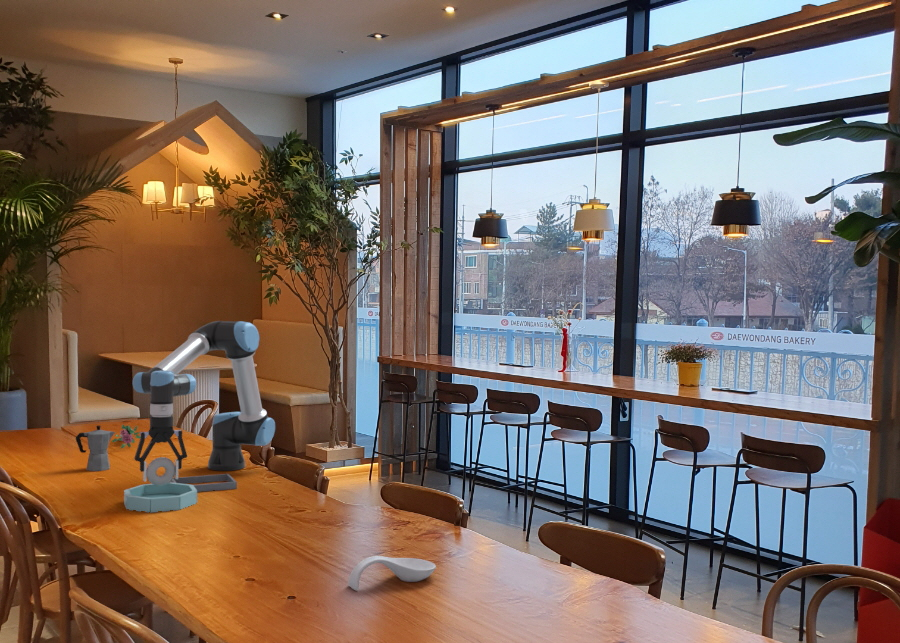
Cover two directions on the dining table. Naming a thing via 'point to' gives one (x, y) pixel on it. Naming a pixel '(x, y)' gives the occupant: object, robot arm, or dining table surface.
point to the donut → (166, 476)
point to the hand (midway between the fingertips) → (160, 479)
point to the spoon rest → (394, 569)
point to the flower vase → (127, 435)
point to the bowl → (160, 497)
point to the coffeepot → (96, 448)
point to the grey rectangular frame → (209, 478)
